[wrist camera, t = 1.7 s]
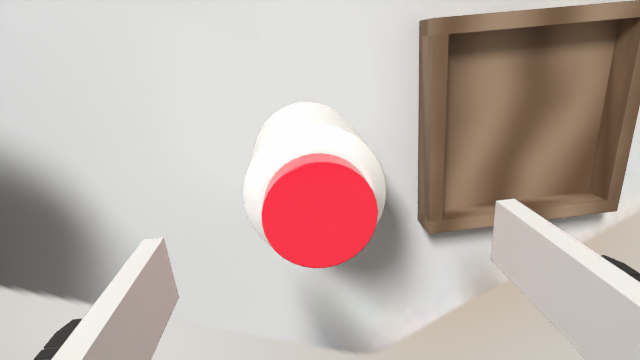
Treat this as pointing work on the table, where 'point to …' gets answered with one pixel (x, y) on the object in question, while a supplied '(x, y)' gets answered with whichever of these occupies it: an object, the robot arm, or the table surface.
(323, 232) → the pill bottle
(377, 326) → the table surface
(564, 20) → the tray
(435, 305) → the table surface
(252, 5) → the table surface
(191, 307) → the table surface
